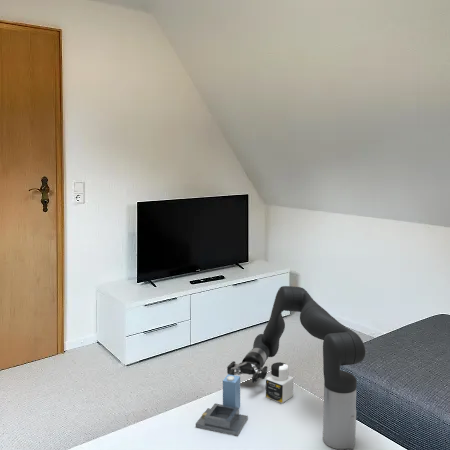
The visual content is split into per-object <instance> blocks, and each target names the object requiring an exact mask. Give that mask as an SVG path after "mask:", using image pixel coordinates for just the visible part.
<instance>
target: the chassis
mask: <svg viewBox="0 0 450 450" xmlns="http://www.w3.org/2000/svg"><path fill="white" fill-rule="evenodd" d="M248 419H249V416H248V415H245V414H241V413H240V408H237V407H232V406H226V405H223V404H220V403H217V402H216V403H214V404H213V405H212V406H211V408H206V410H205V411H204V412H202V414H201V416H200V417H199V419H198V420H197V422H195V428H198V429H203V430H208V431H213V432H218V433H220V434H227V435H232V436H237V437H238V436H239V435H240V433H241V431H243V428H244V426H245V424H247V421H248Z"/></svg>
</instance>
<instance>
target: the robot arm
mask: <svg viewBox="0 0 450 450" xmlns="http://www.w3.org/2000/svg"><path fill="white" fill-rule="evenodd" d="M272 305H273V306H272V309H271V312H270V315H269V320H268V322H267V324H266V326H265V328H264V330H263V332H262V333H260V334H259V333H258V334H257V336H256V337H255V338H254V341H253V344H252V348H251V350H249V352H247V354H246V355H245V356H244V358H243V359H242V361H241V362H240V363H236V361H233V360H232V361H231V362H230V364H229V365H227V366H226V367H227V369H226V373H227V375H228V374H229V375H235V376H240V375H250V376H252V377H251V383H252V384H255V383H256V382H258V380H260V379H261V380H266V378H267V375H268V366H267V365H266V366H265V364H266V361H267V360H268V359H269V358H273V357H276V355H277V354H278V352H279V347H280V339H281V337H282V335H283V333H284V331H285V329H286V323H285V320H284V317H283V315H282V313H283V312H284V311H285V312H286V311H287V312H298V313H300V314H299V321H300V322H299V323H301V326H302V327H303V329H304V330H306V332H308V333H309V335H311V336H312V337H314V338H316V339H319V340H321V341H322V359H323V360H322V361H323V369H322V371H323V373H322V374H323V379H324V382H323V410H322V412H323V415H322V417H323V418H322V421H323V422H322V440H323V443H324V444H325V445H326V446H328V447H329V448H333V449H336V450H348V449H350V450H354V449H355V448H354V447H355V441H356V434H357V433H356V430H357V408H356V407H357V388H358V387H357V384H358V383H357V381H358V380H357V378H356V376H354V375H353V374H352V373H350V372H348V371H344V370H341V367H342V366H351V365H357V364H359V363H361V362H362V361H364V359H365V356H366V348H365V344H364V342H363V340H362V338H361V337H360V336H359V334H358V333H356V332H355V331H353V330H352V329H350V328H348V327H347V326H345V325H344V324H342V323H341V322H339V320H337V319H336V318H335V317H333V316H332V315H331V314H330V313H329V312H328V311H327V310H326V309H324V308H323V307H322V306H321V305H319V303H318V302H317V301H315V300H314V298H313V297H312V296H311V294H310V293H309V292H308V291H307V290H306V289H305V288H303V287H300V286H290V285H283V286H280V287H279V288H278V291H277V292H276V295H275V298H274V301H273V304H272Z"/></svg>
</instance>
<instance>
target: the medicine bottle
mask: <svg viewBox="0 0 450 450" xmlns="http://www.w3.org/2000/svg"><path fill="white" fill-rule="evenodd" d="M293 396H294V377H293V376H291V375H289V365H288V364H287V363H284V362H281V361H280V362H274V363H272V364H271V367H270V376H267V377H265V398H267V399H269V400H272V401H275V402H276V403H280V404H283V403H285V402H286V401H288V400H290V399H291V398H293Z"/></svg>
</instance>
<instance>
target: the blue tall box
mask: <svg viewBox="0 0 450 450" xmlns="http://www.w3.org/2000/svg"><path fill="white" fill-rule="evenodd" d="M222 405H226V406H232V407H237V408H239V409H240V408H241V376H240V375H229V374H228V373H227V375H226V376H225V377H224V379H223V380H222Z"/></svg>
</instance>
